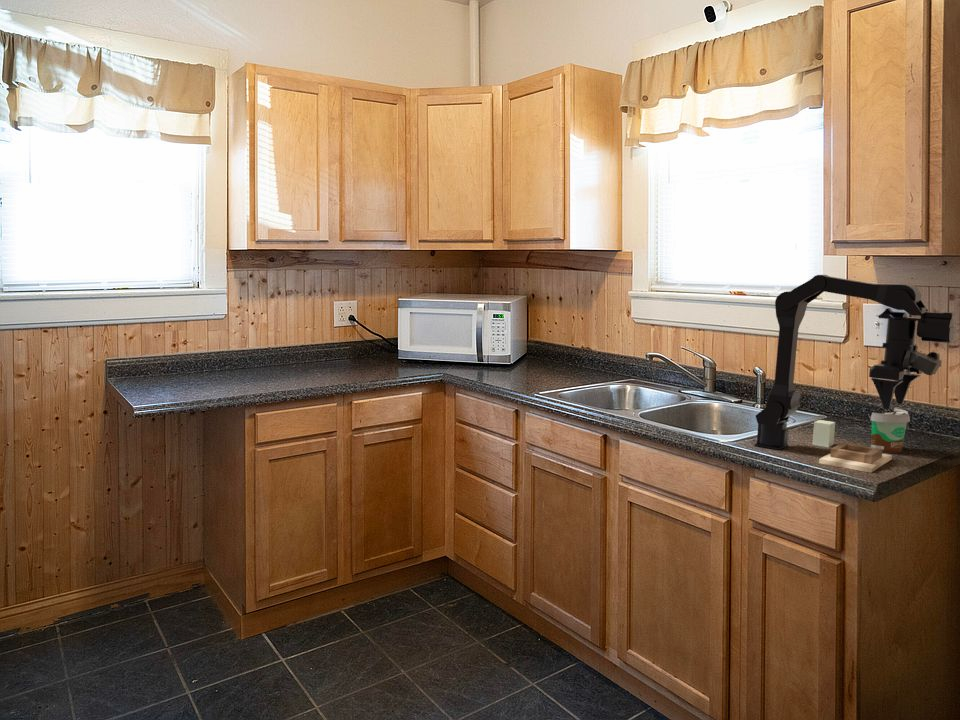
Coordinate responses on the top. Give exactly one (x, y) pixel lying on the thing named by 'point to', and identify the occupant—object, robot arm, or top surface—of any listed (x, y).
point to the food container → (889, 430)
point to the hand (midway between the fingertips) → (893, 406)
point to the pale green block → (823, 433)
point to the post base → (856, 457)
